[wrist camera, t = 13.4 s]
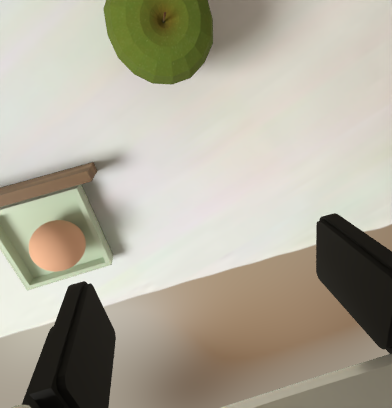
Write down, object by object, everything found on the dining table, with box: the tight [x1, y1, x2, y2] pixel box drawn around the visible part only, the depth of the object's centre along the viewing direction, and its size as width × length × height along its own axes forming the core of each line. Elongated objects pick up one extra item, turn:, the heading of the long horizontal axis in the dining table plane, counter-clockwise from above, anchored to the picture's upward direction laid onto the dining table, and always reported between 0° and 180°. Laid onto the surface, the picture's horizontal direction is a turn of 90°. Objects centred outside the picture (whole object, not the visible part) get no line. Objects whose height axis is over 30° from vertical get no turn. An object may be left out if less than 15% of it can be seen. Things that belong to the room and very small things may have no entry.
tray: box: [0, 184, 113, 290], centre depth 34 cm, size 11×11×2 cm
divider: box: [0, 162, 97, 207], centre depth 30 cm, size 1×16×4 cm, turn 104°
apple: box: [104, 0, 213, 84], centre depth 24 cm, size 9×8×12 cm
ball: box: [29, 220, 86, 272], centre depth 32 cm, size 6×6×6 cm
